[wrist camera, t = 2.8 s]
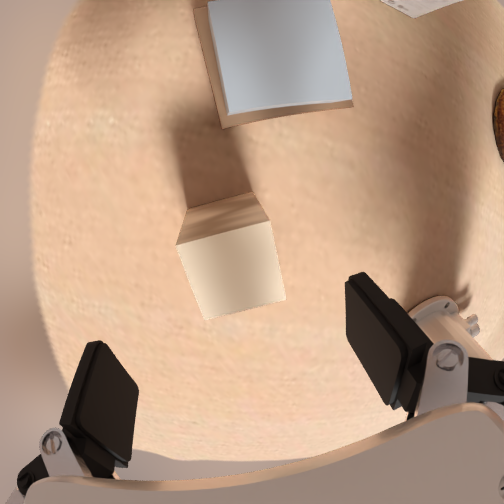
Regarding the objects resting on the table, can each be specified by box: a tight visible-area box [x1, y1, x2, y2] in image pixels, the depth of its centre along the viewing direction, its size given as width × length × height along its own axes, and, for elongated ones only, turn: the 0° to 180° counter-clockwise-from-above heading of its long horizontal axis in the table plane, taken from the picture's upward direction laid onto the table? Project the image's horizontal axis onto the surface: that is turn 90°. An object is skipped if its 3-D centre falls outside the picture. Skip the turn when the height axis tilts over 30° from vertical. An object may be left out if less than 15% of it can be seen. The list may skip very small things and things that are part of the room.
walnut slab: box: [193, 6, 354, 129], centre depth 16 cm, size 9×9×3 cm
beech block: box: [176, 192, 286, 320], centre depth 18 cm, size 5×5×7 cm
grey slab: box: [208, 0, 352, 115], centre depth 13 cm, size 7×7×3 cm
